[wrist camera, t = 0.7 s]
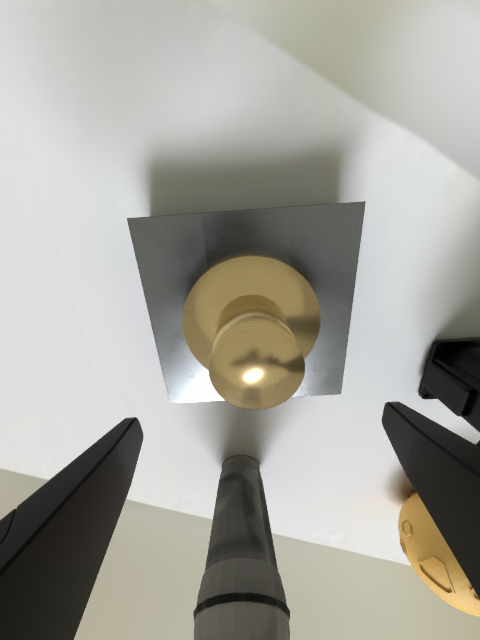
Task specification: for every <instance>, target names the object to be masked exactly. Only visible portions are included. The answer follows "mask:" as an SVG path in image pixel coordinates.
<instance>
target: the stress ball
mask: <svg viewBox="0 0 480 640" xmlns="http://www.w3.org/2000/svg"><path fill="white" fill-rule="evenodd" d="M398 528H399V535H400V544H401V547H402V549H403V552H404V553H405V554H406V556H407V558H408V560H409V562H410V563H411V565H412V567H413V568H414V570H415V571H416V572H417V574H418V575H419V576H420V578H421V579H422V580H423V581H424V582H425V584H427V586H428V587H429V588H430V589H431V590H432V591H433V592H435V593H436V594H437V595H438V596H439V597H440V598H442V599H443V600H444V601H446V602H447V603H449V604H450V605H452V606H453V607H455V608H457V609H459V610H461V611H463V612H466V613H468V614H471V615H474V616H479V617H480V599H479V597H478V596H477V594H476V592H475V591H474V589H473V587H472V585H471V584H470V582H469V580H468V579H467V577H466V575H465V574H464V572H463V570H462V568H461V567H460V565H459V563H458V562H457V560H456V558H455V557H454V555H453V553H452V551H451V550H450V548H449V546H448V545H447V543H446V541H445V540H444V538H443V536H442V534H441V533H440V531H439V529H438V528H437V526H436V524H435V523H434V521H433V519H432V517H431V516H430V514H429V512H428V511H427V509H426V507H425V506H424V504H423V502H422V500H421V499H420V497H419V495H418V494H417V492H414V493H412V494H410V497H409V498H408V499H407V500H406V502H405V503H404V504H403V506H402V508H401V511H400V514H399V523H398Z"/></svg>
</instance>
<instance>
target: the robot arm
mask: <svg viewBox="0 0 480 640" xmlns="http://www.w3.org/2000/svg"><path fill="white" fill-rule="evenodd" d="M419 396H420V397H421V398H423V399H439V400H440V401H441V402H442V403H443V404H444V405H445V406H447V407H448V408H449V409H450V410H451V411H452V412H453V413H454V414H456V415H457V416H461V417H462V418H464V419H465V420H466V421H467V422H468V423H469V424H470V425H472V426H473V427H474V428H475V429H476V430H477V431H478V432H480V338H467V339H450V340H438V341H436V342H434V343H433V345H432V349H431V352H430V356H429V359H428V363H427V366H426V370H425V373H424V377H423V380H422V383H421V387H420V390H419ZM382 424H383V427H384V429H385V431H386V434H387V436H388V438H389V440H390V442H391V444H392V446H393V448H394V451H395V453H396V455H397V457H398V459H399V461H400V463H401V465H402V467H403V469H404V471H405V473H406V475H407V477H408V478H409V480H410V482H411V483H412V485H413V487H414V489H415V490H416V492H417V494H418V495H419V497H420V499H421V500H422V502H423V504H424V506H425V507H426V509H427V511H428V512H429V514H430V516H431V517H432V519H433V521H434V523H435V524H436V526H437V528H438V529H439V531H440V533H441V534H442V536H443V538H444V540H445V541H446V543H447V545H448V546H449V548H450V550H451V551H452V553H453V555H454V557H455V558H456V560H457V562H458V563H459V565H460V567H461V568H462V570H463V572H464V574H465V575H466V577H467V579H468V580H469V582H470V584H471V585H472V587H473V589H474V591H475V592H476V594H477V596H478V597H479V599H480V440H479V441H478V442H477V443H476V444H473V443H471V442H469V441H468V440H466V439H464V438H462V437H461V436H459V435H457V434H455V433H453V432H452V431H450V430H448V429H446V428H445V427H443V426H441V425H439V424H438V423H436V422H434V421H432V420H430V419H429V418H427V417H425V416H423V415H422V414H420V413H418V412H416V411H415V410H413V409H411V408H409V407H407V406H406V405H404V404H402V403H400V402H387V403H386V404H385V406H384V411H383V416H382ZM142 442H143V432H142V429H141V425H140V422H139V420H138V418H136V417H133V418H125V419H124V420H123V421H121V422H120V423H119V424H118V425H116V426H115V427H114V428H113V429H112V430H110V431H109V432H108V433H107V434H105V435H104V436H103V437H102V438H101V439H99V440H98V441H97V442H96V443H94V444H93V445H92V446H91V447H89V448H88V449H87V450H86V451H85V452H83V453H82V454H81V455H80V456H78V457H77V458H76V459H75V460H74V461H72V462H71V463H70V464H69V465H67V466H66V467H65V468H64V469H63V470H61V471H60V472H59V473H58V474H56V475H55V476H54V477H53V478H52V479H50V480H49V481H48V482H47V483H46V484H44V485H43V486H42V487H41V488H39V489H38V490H37V491H36V492H34V493H33V494H32V495H31V496H29V497H28V498H27V499H26V500H25V501H23V502H22V503H21V504H20V505H18V506H17V509H14V510H12V511H11V512H10V513H9V514H8V515H6V516H5V517H4V518H3V519H1V520H0V640H74V637H75V635H76V632H77V629H78V627H79V624H80V621H81V619H82V616H83V613H84V610H85V608H86V605H87V602H88V600H89V597H90V594H91V591H92V589H93V586H94V583H95V581H96V578H97V575H98V573H99V570H100V567H101V564H102V562H103V559H104V556H105V554H106V551H107V548H108V545H109V543H110V540H111V537H112V535H113V532H114V529H115V527H116V524H117V521H118V518H119V516H120V513H121V510H122V507H123V505H124V502H125V500H126V497H127V494H128V491H129V488H130V486H131V482H132V479H133V475H134V472H135V468H136V464H137V460H138V457H139V453H140V449H141V445H142Z"/></svg>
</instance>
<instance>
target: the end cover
mask: <svg viewBox="0 0 480 640" xmlns="http://www.w3.org/2000/svg"><path fill="white" fill-rule="evenodd" d="M320 323H321V314H320V307H319V303H318V300H317V297H316V295H315V293H314V290H313V289H312V287H311V286H310V284H309V283H308V282H307V280H306V279H305V278H304V277H303V276H302V275H301V274H300V273H299V272H297V271H296V270H295V269H294V268H293V267H291V266H290V265H288V264H287V263H285V262H283V261H281V260H279V259H277V258H274V257H271V256H267V255H261V254H243V255H237V256H233V257H229V258H227V259H225V260H222V261H220V262H218V263H217V264H215V265H213V266H212V267H211V268H209V269H208V270H207V271H206V272H205V273H204V274H203V275H202V276H201V277H200V278H199V279H198V281H197V282H196V284H195V285H194V287H193V288H192V289H191V291H190V293H189V295H188V297H187V299H186V302H185V305H184V310H183V317H182V325H183V333H184V337H185V340H186V343H187V345H188V347H189V349H190V351H191V353H192V354H193V355H194V357H195V358H196V359H197V361H198V362H199V363H200V364H201V365H202V366H204V367H205V368H206V369H207V370H209V377H210V381H211V384H212V386H213V388H214V389H215V391H216V392H217V393H218V394H219V395H220V396H221V397H222V398H223V399H224V400H225V401H227V402H229V403H230V404H232V405H235V406H237V407H240V408H245V409H252V410H259V409H267V408H271V407H274V406H277V405H279V404H281V403H283V402H285V401H286V400H288V399H289V398H290V397H291V396H293V395H294V394H295V392H296V391H297V390H298V389H299V387H300V386H301V384H302V381H303V379H304V375H305V361H304V360H305V358H306V357H307V356H308V355H309V353H310V352H311V350H312V348H313V347H314V345H315V342H316V340H317V337H318V334H319V330H320Z"/></svg>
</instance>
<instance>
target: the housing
mask: <svg viewBox="0 0 480 640" xmlns="http://www.w3.org/2000/svg"><path fill="white" fill-rule="evenodd" d="M365 202H366V201H365ZM365 202H351V203H337V204H323V205H308V206H294V207H280V208H266V209H252V210H238V211H224V212H209V213H195V214H181V215H167V216H153V217H139V218H127V221H128V225H129V230H130V234H131V238H132V243H133V247H134V251H135V256H136V260H137V264H138V269H139V273H140V277H141V282H142V286H143V290H144V295H145V299H146V303H147V308H148V312H149V316H150V321H151V325H152V329H153V334H154V338H155V342H156V347H157V351H158V356H159V360H160V364H161V369H162V373H163V377H164V382H165V386H166V390H167V395H168V399H169V403H187V402H206V401H224V399H223V398H222V397H221V396H220V395H219V394H218V393H217V392H216V391H215V389H214V388H213V386H212V384H211V381H210V377H209V370H207V369H206V368H205V367H204V366H202V365H201V364H200V363H199V362H198V361H197V359H196V358H195V357H194V355H193V354H192V353H191V351H190V349H189V347H188V345H187V343H186V340H185V337H184V333H183V325H182V317H183V310H184V305H185V302H186V299H187V297H188V295H189V293H190V291H191V289H192V288H193V287H194V285H195V284H196V282H197V281H198V279H199V278H200V277H201V276H202V275H203V274H204V273H205V272H206V271H207V270H208V269H209V268H211V267H212V266H213V265H215V264H217V263H218V262H220V261H222V260H225V259H227V258H229V257H233V256H237V255H243V254H261V255H267V256H271V257H274V258H277V259H279V260H281V261H283V262H285V263H287V264H288V265H290V266H291V267H293V268H294V269H295V270H296V271H297V272H299V273H300V274H301V275H302V276H303V277H304V278H305V279H306V280H307V282H308V283H309V284H310V286H311V287H312V289H313V290H314V293H315V295H316V297H317V300H318V303H319V307H320V314H321V323H320V330H319V334H318V337H317V340H316V342H315V345H314V347H313V348H312V350H311V352H310V353H309V355H308V356H307V357H306V358H305V360H304V361H305V375H304V379H303V381H302V384H301V386H300V387H299V389H298V390H297V391H296V392H295V394H294V395H293V396H291V397H297V396H315V395H334V394H341V389H342V381H343V373H344V366H345V358H346V350H347V342H348V334H349V327H350V319H351V311H352V303H353V295H354V288H355V280H356V272H357V264H358V256H359V249H360V241H361V233H362V225H363V217H364V210H365Z"/></svg>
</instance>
